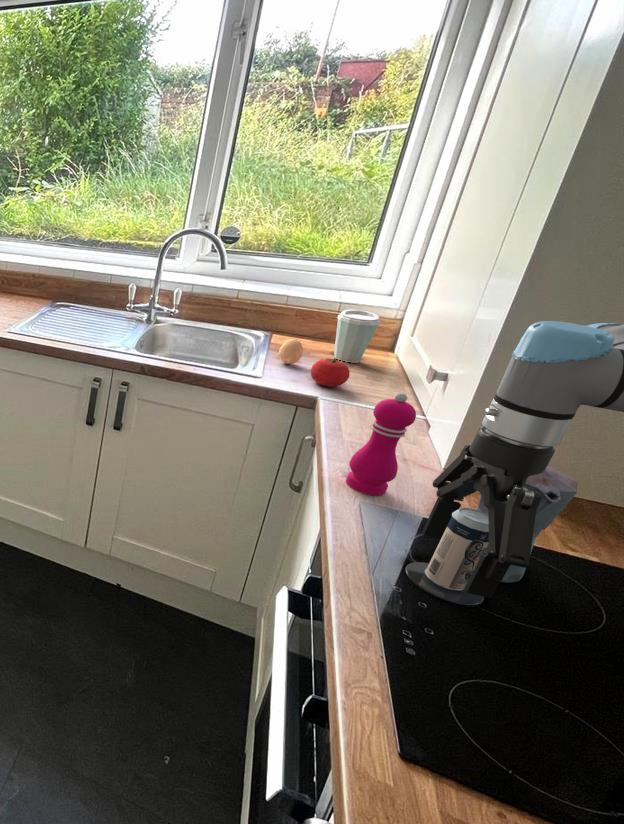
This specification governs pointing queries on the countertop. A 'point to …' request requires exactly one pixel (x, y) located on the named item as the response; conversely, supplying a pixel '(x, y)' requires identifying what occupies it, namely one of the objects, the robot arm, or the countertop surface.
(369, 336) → the disposable coffee cup
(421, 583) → the slate coaster
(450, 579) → the beer can
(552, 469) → the moka pot
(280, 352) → the egg
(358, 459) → the pepper mill
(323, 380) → the tomato
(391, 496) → the countertop surface
